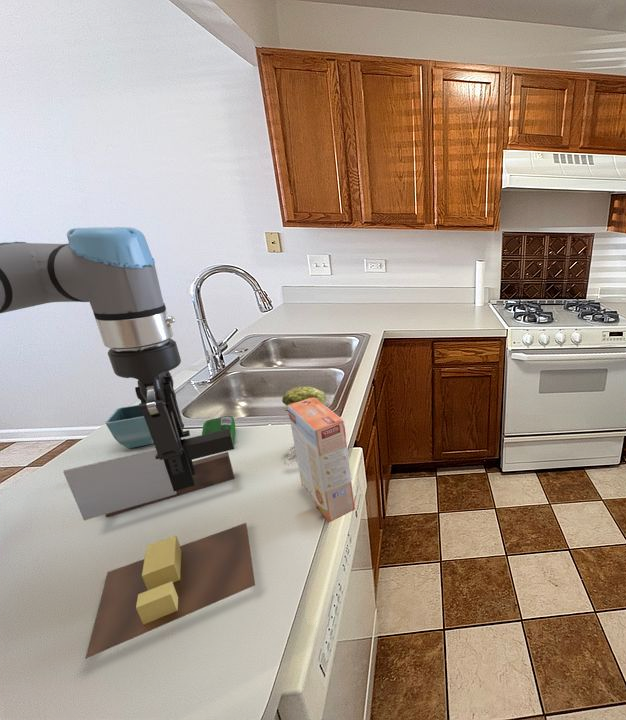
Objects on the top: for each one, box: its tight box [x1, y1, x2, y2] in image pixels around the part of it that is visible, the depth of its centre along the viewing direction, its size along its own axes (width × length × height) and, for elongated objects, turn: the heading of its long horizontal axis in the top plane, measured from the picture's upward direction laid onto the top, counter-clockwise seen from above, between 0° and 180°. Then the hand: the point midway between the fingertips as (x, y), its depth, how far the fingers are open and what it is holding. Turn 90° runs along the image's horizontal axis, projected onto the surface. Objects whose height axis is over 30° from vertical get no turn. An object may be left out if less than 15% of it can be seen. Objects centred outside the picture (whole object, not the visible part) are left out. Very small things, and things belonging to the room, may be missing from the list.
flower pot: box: [105, 404, 154, 449], centre depth 102 cm, size 9×9×9 cm
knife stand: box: [104, 451, 235, 518], centre depth 82 cm, size 22×6×7 cm, turn 123°
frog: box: [281, 386, 327, 467], centre depth 95 cm, size 12×13×18 cm
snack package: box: [201, 415, 236, 445], centre depth 103 cm, size 7×16×5 cm, turn 29°
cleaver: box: [62, 429, 235, 521], centre depth 62 cm, size 20×3×9 cm, turn 123°
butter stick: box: [142, 535, 181, 590], centre depth 65 cm, size 4×7×4 cm, turn 33°
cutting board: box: [85, 522, 256, 659], centre depth 64 cm, size 20×16×2 cm
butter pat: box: [136, 581, 178, 625], centre depth 58 cm, size 4×2×4 cm, turn 123°
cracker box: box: [286, 397, 356, 523], centre depth 80 cm, size 14×6×21 cm, turn 43°
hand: (184, 481), depth 64 cm, fingers closed on cleaver, 3 cm apart
